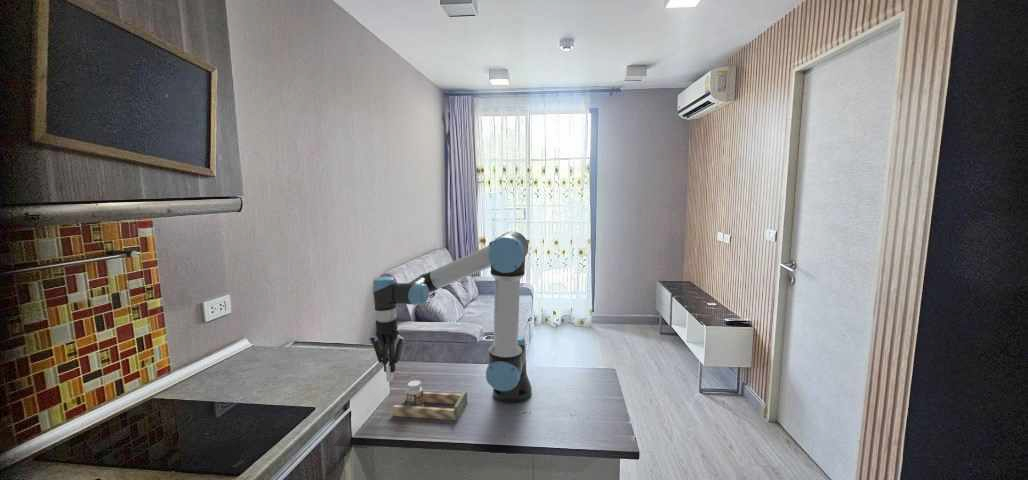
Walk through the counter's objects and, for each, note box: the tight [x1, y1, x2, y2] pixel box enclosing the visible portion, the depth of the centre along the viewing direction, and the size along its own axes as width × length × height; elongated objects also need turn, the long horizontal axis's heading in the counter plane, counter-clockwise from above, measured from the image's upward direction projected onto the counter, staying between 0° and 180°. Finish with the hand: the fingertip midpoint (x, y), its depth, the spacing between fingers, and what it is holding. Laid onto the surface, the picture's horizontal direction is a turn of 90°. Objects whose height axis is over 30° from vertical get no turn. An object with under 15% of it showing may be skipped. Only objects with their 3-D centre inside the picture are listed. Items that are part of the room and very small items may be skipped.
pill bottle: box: [406, 380, 425, 407], centre depth 148 cm, size 6×6×10 cm
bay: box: [392, 390, 468, 421], centre depth 147 cm, size 24×11×5 cm, turn 80°
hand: (390, 379), depth 148 cm, fingers closed
